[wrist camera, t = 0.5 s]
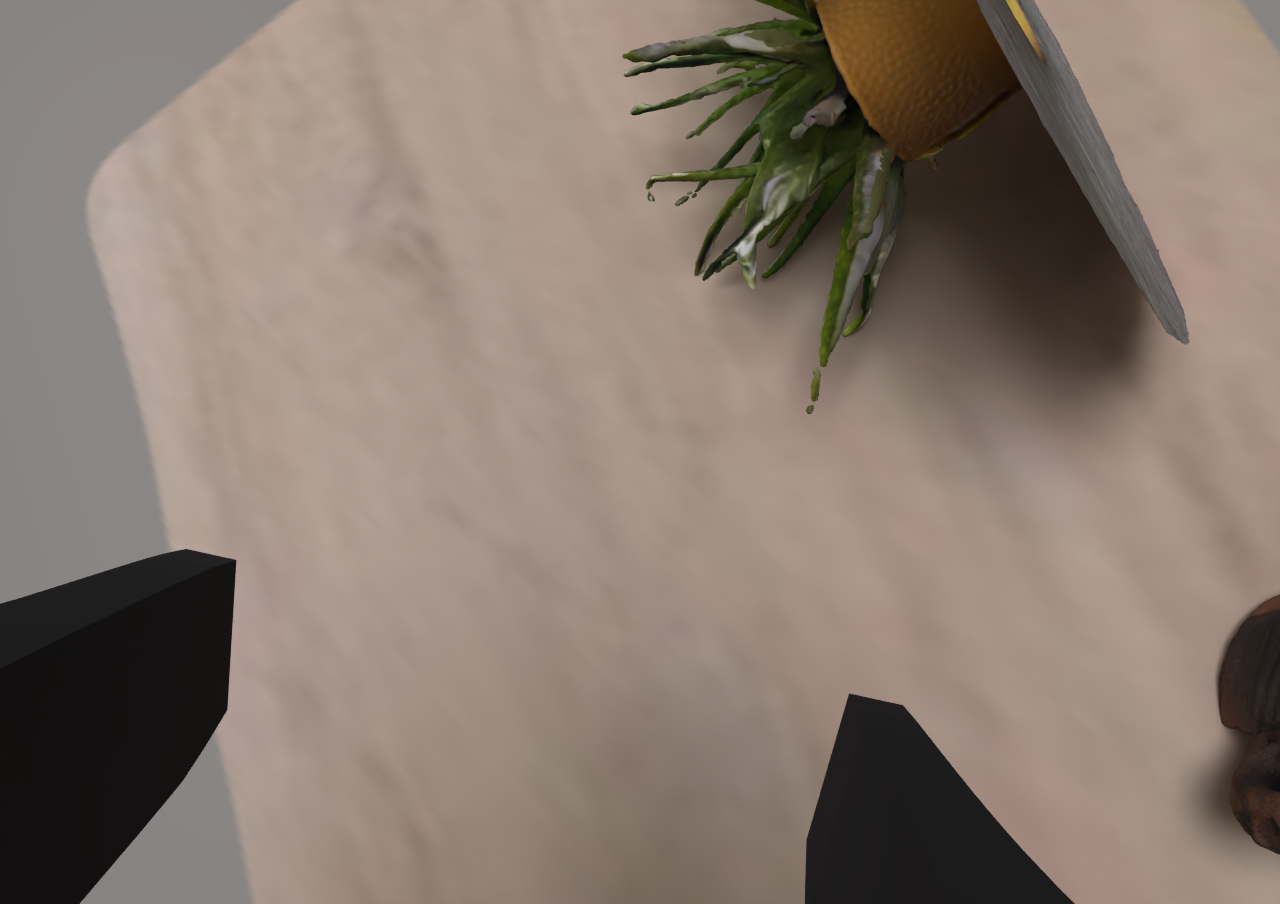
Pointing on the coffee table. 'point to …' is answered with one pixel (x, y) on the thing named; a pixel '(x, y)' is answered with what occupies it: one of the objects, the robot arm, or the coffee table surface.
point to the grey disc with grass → (888, 128)
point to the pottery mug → (1256, 722)
